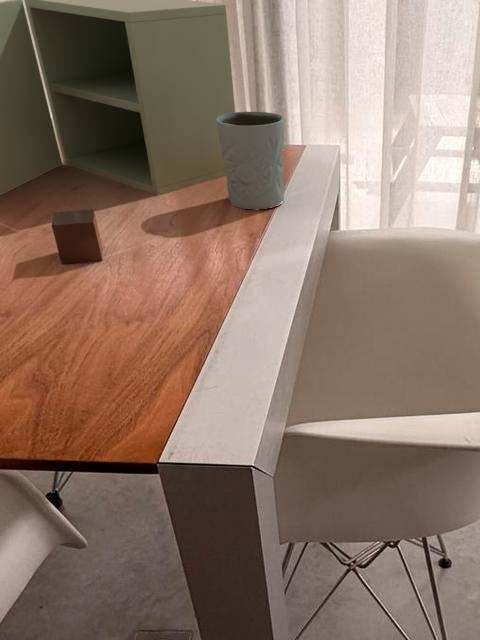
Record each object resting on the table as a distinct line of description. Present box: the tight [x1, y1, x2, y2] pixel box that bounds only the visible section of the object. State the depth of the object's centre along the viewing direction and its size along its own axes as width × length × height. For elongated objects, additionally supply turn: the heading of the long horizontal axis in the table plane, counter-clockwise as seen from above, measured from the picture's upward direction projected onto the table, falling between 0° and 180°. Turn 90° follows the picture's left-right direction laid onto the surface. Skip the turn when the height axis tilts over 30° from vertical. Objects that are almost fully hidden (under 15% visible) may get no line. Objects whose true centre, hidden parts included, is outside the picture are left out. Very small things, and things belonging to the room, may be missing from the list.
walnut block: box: [51, 208, 103, 265], centre depth 88 cm, size 5×5×5 cm
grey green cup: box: [216, 111, 285, 210], centre depth 105 cm, size 10×10×12 cm
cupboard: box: [23, 0, 236, 196], centre depth 113 cm, size 18×26×24 cm
